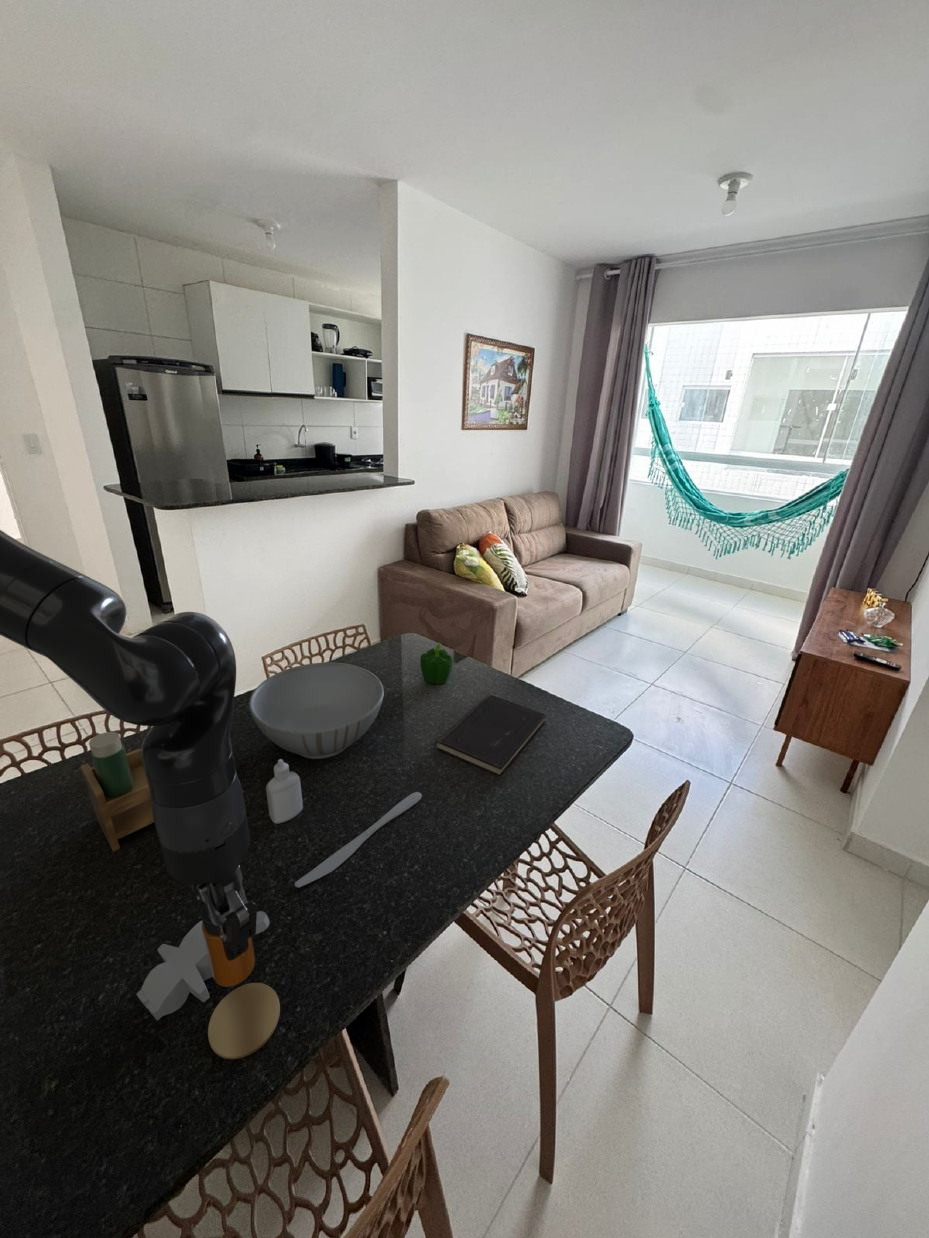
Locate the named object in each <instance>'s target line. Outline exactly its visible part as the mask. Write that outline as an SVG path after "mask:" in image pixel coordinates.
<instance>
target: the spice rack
mask: <svg viewBox="0 0 929 1238" xmlns="http://www.w3.org/2000/svg"><path fill="white" fill-rule="evenodd" d="M141 749H142V747H140V748H137V749H135V750H131V751H129V752H127V753H126V755H127V759H128V763H129V766H130V770H131V774H132V777H133V781H134V787H133V789H132V790H131V791H130V792H128V793H127V794H125V795H123V796H120V797H117V798H106V797H104V793H103V791H102V789H101V787H100V784H99V780H98V777H97V774H96V771H95V767H94V765H93V766H90V765H89V763H84V764H81V765H80V770H81V772H82V776H83V780H84V782H85V786H86V789H87V792H88V795H89V798H90V801H91V805H92V807H93V810H94V814H95V818H96V820H97V823H98V825H99V826H100V829H101V830H102V832H103V834H104V836H105V838H106V841H107V842H108V845H109V846H110V848H111V850H112V852H114V853H115V852H117V851H118V850H121V847H120V843H119V840H121V839H122V838H125V837H127V836H128V835H130V834H132V833H134V832H137V831H139V830H141V829H143V828H145V827H147V826H149V825H151V824H153V823H154V819H153V814H152V799H151V793H150V790H149V786H148V782H147V778H146V774H145V771H144V767H143V763H142V756H141Z"/></svg>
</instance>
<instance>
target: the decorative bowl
mask: <svg viewBox="0 0 929 1238" xmlns="http://www.w3.org/2000/svg"><path fill="white" fill-rule="evenodd" d="M384 693H385V689H384V685H383V683H382V681H381V680H380V678H379V677H378V676H377V675H376V674H374V673H372V672H371V671H369V670H367V669H365V668H363V667H361V666H358V665H354V664H349V663H343V662H331V661H329V662H315V663H314V662H313V663H306V664H301V665H297V666H294V667H293V666H292V667H289V668H287V669H284V670H281V671H279V672H277V673H275V674H273V675H271V676H269V677H268V678H266V679H265V680H263V681H262V682H261V683H260V684H259V685H258V686H257V687H256V688H255V689H254V690H253V691H252V693H251V695H250V698H249V701H248V702H249V703H248V707H249V711H250V715H251V716H252V719H253V721H254V722H255V724H256V725H257V727H258V728H259V730H260V731H261V733H263V735H264V736H266V738H267V739H269V740H270V741H271V742H272V743H273V744H274V745H276V746H278V747H279V748H281V749H283V750H285V751H287V752H289V753H293V754H296V755H299V756H300V757H303V758H306V759H312V760H315V759H316V760H320V759H327V758H331V757H334V756H336V755H339V754H340V753H342V752H344V751H345V750H346V749H347V748H349V747H350V746H352V745H353V744H355V743H356V742H357V741H358V740H360V739H361V738H362V737H363V736H364V735H365V734H366V733H367V732H368V730H369V729H370V728H371V726H372V725H373V723H374V722H375V720H376V718H377V716H378V714H379V712H380V710H381V707H382V704H383V699H384Z"/></svg>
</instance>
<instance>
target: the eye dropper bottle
mask: <svg viewBox="0 0 929 1238" xmlns="http://www.w3.org/2000/svg"><path fill="white" fill-rule="evenodd" d="M273 774H274V777H273V778H271V779H270V780H269V782H268V783H266V787H265V791H266V798H267V800H266V801H267V808H268V814H269V819H270V820H271V821H272V823H274V824H275V825H279V824H282V823H285V822H288V821H290V820H292V819H294V818H295V817H297V816H298V815H299V814H301V812H302V811H303V810H304V803H303V795H302V794H303V792H302V787H301V786H302V784H301V778H300V776H299V774H297V773H296V772H295V771H290V766H289V763H287V762H284V760H283V759H282V758H280V759H278V760H277V763H276V764H275V765H274V766H273Z"/></svg>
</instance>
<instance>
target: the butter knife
mask: <svg viewBox="0 0 929 1238" xmlns="http://www.w3.org/2000/svg"><path fill="white" fill-rule="evenodd" d="M422 797H423V795H422V793H421V792H419V791H415V792H412V793H411V794H408V796H406V797H405V798H403V799H402V800H401V801H399V802H398V803H397V804H396V805H394V806H393V807H392V808H391V809H390V810H388V811H387V813H386V814H384V815H383V816H382V817H381V818H379V819H378V820H377V821H376V822H374V823H373V824H372V825H371V826H370V827H368V828H367V829H365V830H364V831H363V832H362V833H360V834H359V835H358V836H356V837H355V838H354V839H352V840H351V841H349V842H348V843H347V844H345V845H344V846H343V847H341V848H340V849H338V850H336V852H334V853H333V854H331V855H330V856H328V858H326V859H325V860H324V861H322V862H320V863H319V864H318V865H317V866H316V867H315V868H313V869H311V870H310V871H309V872H308V873H306V874H305V875H303V876H302V877H300V878H299V879H298V880H296V881H295V882H294V886H295V887H296V888H301V887H304V886H306V885H308V884H311V883H312V882H314V881H317V880H318V879H321V878H322V877H324V876H326V875H328V874H330V873H332V872H333V871H335V870H336V869H337V868H338V867H339V866H340V865H342V864H343V863H344V862H345V861H347V859H349V858H350V857H351V856H352V855H353V854H354V853H355V852H356V851H357V850H358V849H359V848H360V847H361V846H362V845H363V843H364V842H366V840H367V839H369V838H370V837H371V836H373V834H374V833H375V832H376V831H378V830H379V829H381V828H382V827H383V826H384V825H385V824H387V823H388V822H390V821H392V820H393V819H395V818H396V817H399V816H400V815H401V814H403V813H404V812H406V811H407V810H409V809H410V808H411V807H413V806H414V805H416V804H417V803H418V802H419V801H420V800H421V799H422Z"/></svg>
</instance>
